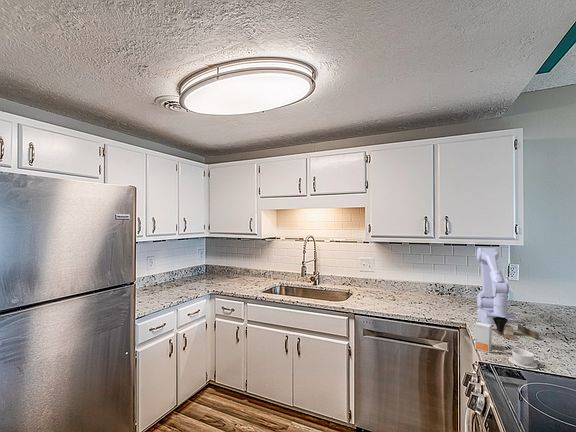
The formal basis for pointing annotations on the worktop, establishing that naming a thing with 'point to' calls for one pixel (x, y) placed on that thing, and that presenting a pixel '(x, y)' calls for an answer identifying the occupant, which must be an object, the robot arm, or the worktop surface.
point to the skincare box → (483, 337)
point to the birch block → (507, 330)
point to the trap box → (520, 333)
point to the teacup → (523, 358)
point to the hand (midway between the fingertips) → (499, 331)
